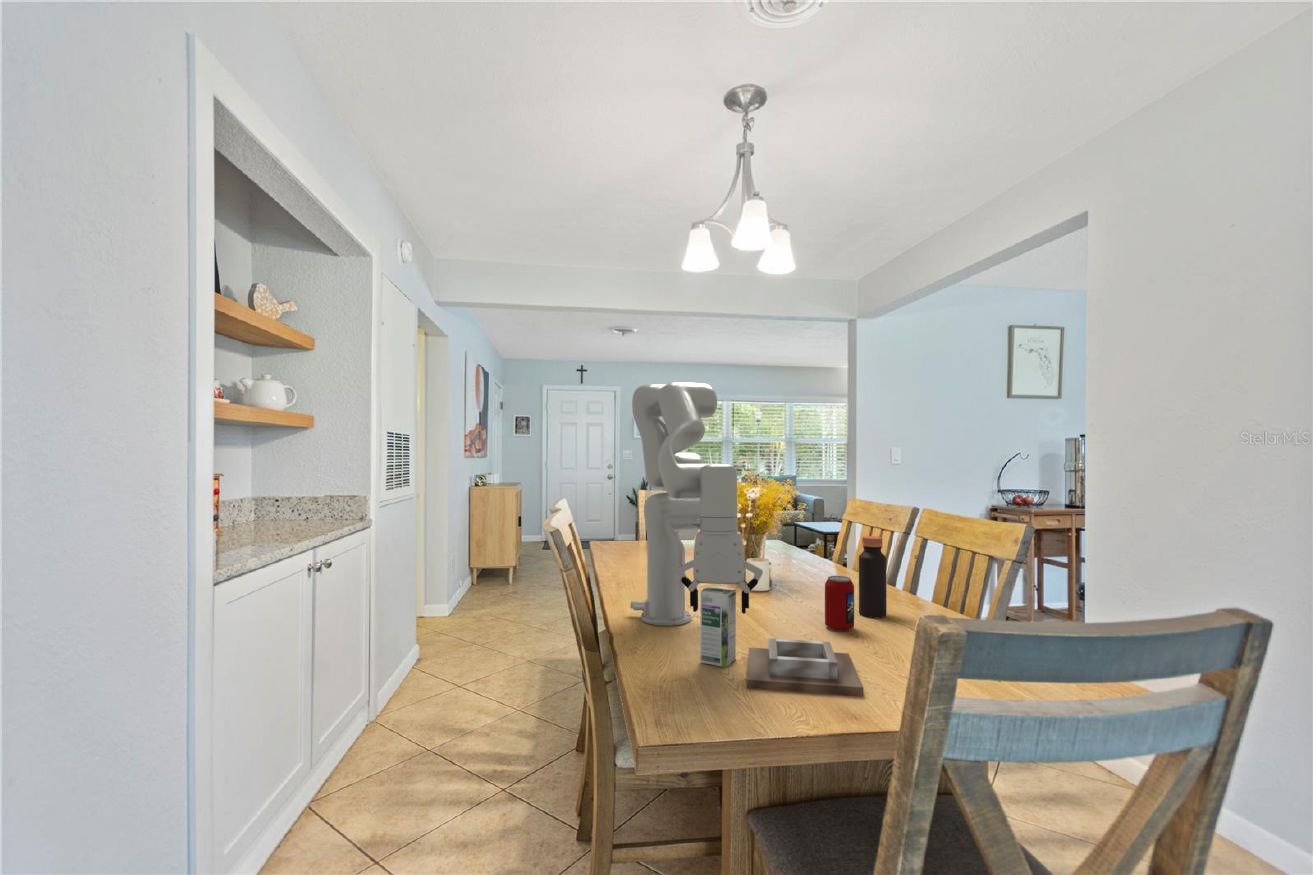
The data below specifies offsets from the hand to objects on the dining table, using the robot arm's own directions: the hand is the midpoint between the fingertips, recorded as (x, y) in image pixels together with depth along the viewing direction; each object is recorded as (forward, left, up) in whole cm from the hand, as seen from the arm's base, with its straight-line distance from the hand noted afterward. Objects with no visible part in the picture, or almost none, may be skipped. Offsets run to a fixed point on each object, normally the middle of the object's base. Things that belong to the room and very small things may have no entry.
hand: (719, 611), depth 122 cm
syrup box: (0, +1, -10) cm, 10 cm away
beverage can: (+27, +29, -10) cm, 40 cm away
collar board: (+16, -3, -10) cm, 19 cm away
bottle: (+37, +43, -10) cm, 57 cm away
